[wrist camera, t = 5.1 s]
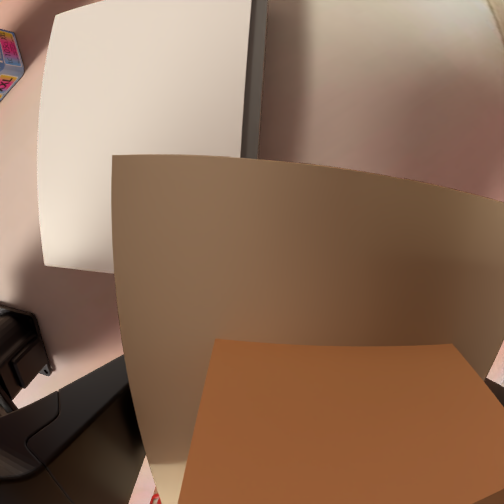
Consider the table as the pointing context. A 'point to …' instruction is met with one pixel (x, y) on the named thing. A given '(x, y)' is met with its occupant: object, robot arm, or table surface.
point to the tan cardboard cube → (344, 427)
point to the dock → (139, 105)
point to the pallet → (287, 273)
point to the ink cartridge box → (9, 62)
